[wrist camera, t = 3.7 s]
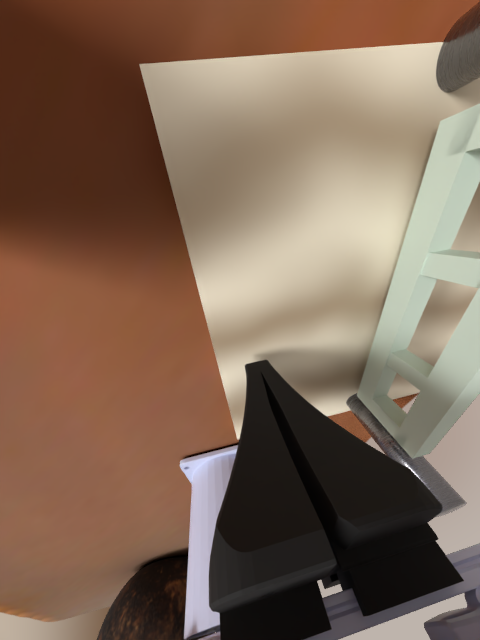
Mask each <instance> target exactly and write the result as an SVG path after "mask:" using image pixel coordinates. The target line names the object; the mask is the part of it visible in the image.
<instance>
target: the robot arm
mask: <svg viewBox="0 0 480 640" xmlns="http://www.w3.org/2000/svg"><path fill="white" fill-rule="evenodd" d="M245 371H246V383H247V384H246V401H245V410H244V417H243V423H242V429H241V434H240V439H239V443H238V445H236V446H232V447H228V448H224V449H220V450H216V451H212V452H209V453H205V454H201V455H197V456H193V457H189V458H186V459H183V460H181V461H180V467H181V469H182V470H183V472H184V473H185V475H186V476H187V478H188V479H189V481H190V482H191V484H192V496H191V515H190V533H189V552H188V571H187V589H186V608H185V626H184V640H187V639H192V638H196V637H200V636H203V635H207V634H210V633H213V632H216V633H214V634H212V635H209V636H206V637H203V638H201V639H198V640H338V639H341V638H343V637H346V636H349V635H351V634H354V633H357V632H359V631H362V630H365V629H367V628H370V627H373V626H376V625H378V624H381V623H383V622H386V621H389V620H392V619H395V618H397V617H400V616H403V615H405V614H408V613H410V612H413V611H416V610H419V609H421V608H424V607H427V606H429V605H432V604H435V603H438V602H440V601H443V600H446V599H448V598H451V597H454V596H456V595H459V594H462V593H464V592H465V599H466V602H467V608H463V609H457V610H453V611H448V612H446V613H442V614H440V615H438V616H436V617H434V618H432V619H430V620H428V621H426V622H425V623H424V628H425V630H426V632H427V634H428V635H429V637H430V639H431V640H480V544H476V545H473V546H471V547H468V548H465V549H462V550H459V551H457V552H453V553H450V554H448V555H445V553H444V552H443V551H442V549H441V548H440V547H439V545H438V544H437V542H436V540H438V537H437V535H436V534H435V533H434V531H433V530H432V528H431V527H430V526H429V524H428V523H427V522H429V521H430V520H431V519H433V518H434V517H436V516H437V515H438V514H439V513H441V512H442V509H443V508H442V504H441V503H440V502H439V501H438V499H437V498H436V497H435V496H434V495H433V493H432V492H431V491H430V490H429V489H428V488H427V486H426V485H425V484H424V483H423V482H422V481H421V480H420V479H419V478H418V477H417V476H416V475H415V474H414V473H413V472H412V471H411V469H409V468H407V467H406V466H404V465H402V464H400V463H399V462H397V461H395V460H393V459H391V458H390V457H388V456H386V455H385V454H383V453H381V452H380V451H378V450H376V449H374V448H373V447H371V446H370V445H368V444H367V443H365V442H363V441H362V440H360V439H359V438H357V437H355V436H354V435H353V434H351V433H350V432H348V431H347V430H345V429H344V428H342V427H341V426H339V425H338V424H336V423H335V422H333V421H332V420H331V419H329V418H328V417H327V416H325V415H324V414H323V413H321V412H320V411H319V410H318V409H316V408H315V407H314V406H313V405H311V404H310V403H309V402H308V401H307V400H306V399H304V398H303V397H302V396H301V395H300V394H299V393H298V392H297V391H296V390H295V389H293V388H292V387H291V386H290V385H289V384H288V383H287V382H286V381H285V380H284V379H283V377H282V376H281V375H280V374H279V373H278V372H277V371H276V370H275V369H274V367H273V366H272V365H271V364H270V363H269V361H268V360H262V361H257V362H253V363H248V364H246V365H245ZM318 580H322V583H323V586H324V588H325V589H326V588H329V587H332V586H335V585H338V584H341V587H342V590H343V591H341V592H339V593H336V594H333V595H330V596H327V597H324V598H322V596H321V593H320V589H319V586H318V583H317V581H318Z"/></svg>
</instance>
